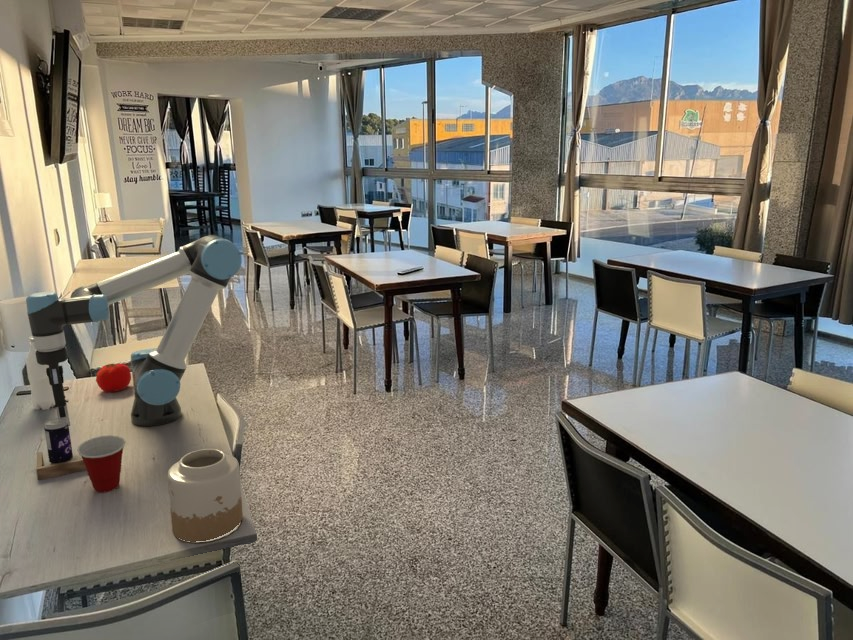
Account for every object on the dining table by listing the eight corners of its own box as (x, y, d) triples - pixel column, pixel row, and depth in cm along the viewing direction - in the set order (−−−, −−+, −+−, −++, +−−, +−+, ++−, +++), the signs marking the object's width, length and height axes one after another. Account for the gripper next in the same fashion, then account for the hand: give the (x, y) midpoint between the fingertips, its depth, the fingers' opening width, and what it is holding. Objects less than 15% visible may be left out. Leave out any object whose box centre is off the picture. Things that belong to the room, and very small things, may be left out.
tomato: (140, 386, 228) (137, 360, 226) (110, 397, 217) (107, 370, 214) (119, 382, 232) (116, 356, 230) (89, 392, 221) (85, 365, 219)
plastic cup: (82, 502, 149) (76, 457, 146) (83, 482, 158) (77, 440, 155) (131, 492, 154) (126, 448, 151) (129, 473, 163) (124, 432, 160)
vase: (165, 519, 142) (158, 453, 138) (230, 500, 150) (226, 437, 146) (182, 552, 130) (175, 481, 126) (252, 529, 138) (248, 462, 134)
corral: (89, 452, 174) (88, 443, 174) (91, 468, 165) (90, 458, 164) (38, 462, 168) (37, 452, 167) (37, 479, 159) (36, 469, 158)
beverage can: (61, 467, 166) (55, 426, 163) (44, 465, 167) (38, 424, 164) (78, 458, 171) (72, 418, 168) (61, 456, 172) (55, 416, 169)
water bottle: (61, 406, 208) (51, 336, 202) (39, 413, 202) (28, 340, 196) (50, 402, 212) (40, 332, 206) (28, 408, 206) (17, 337, 200)
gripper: (35, 344, 172) (49, 421, 178) (34, 356, 162) (49, 437, 168) (65, 340, 176) (78, 415, 182) (66, 351, 165) (80, 431, 171)
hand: (64, 426), depth 175 cm, fingers closed
